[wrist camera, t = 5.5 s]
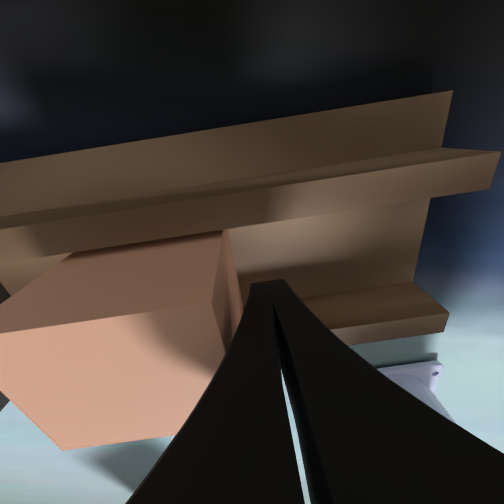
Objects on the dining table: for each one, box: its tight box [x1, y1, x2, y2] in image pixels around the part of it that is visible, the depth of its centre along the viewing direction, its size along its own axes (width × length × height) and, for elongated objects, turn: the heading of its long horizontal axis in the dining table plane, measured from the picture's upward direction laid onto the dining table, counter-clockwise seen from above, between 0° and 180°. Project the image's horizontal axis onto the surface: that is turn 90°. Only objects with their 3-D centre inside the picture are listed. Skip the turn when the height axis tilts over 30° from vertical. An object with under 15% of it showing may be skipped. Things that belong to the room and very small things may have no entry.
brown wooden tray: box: [0, 90, 501, 411], centre depth 10 cm, size 12×22×5 cm, turn 98°
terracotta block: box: [0, 229, 243, 450], centre depth 9 cm, size 5×6×6 cm
